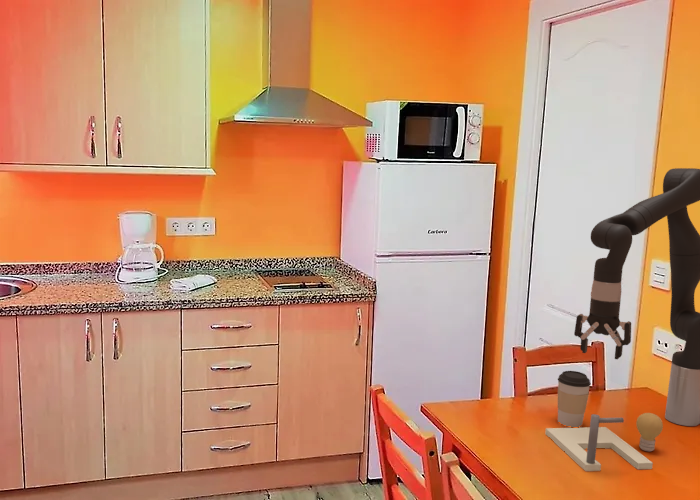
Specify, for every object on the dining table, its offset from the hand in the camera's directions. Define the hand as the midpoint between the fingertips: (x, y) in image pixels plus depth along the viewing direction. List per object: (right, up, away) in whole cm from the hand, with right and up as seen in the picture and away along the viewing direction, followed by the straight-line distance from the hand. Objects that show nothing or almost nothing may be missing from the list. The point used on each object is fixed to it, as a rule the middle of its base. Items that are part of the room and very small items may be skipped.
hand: (600, 355), depth 185 cm
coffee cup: (-5, -22, +12) cm, 25 cm away
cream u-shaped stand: (-3, -24, -6) cm, 25 cm away
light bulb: (+11, -25, -4) cm, 27 cm away
